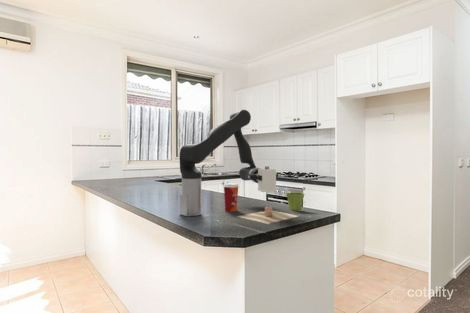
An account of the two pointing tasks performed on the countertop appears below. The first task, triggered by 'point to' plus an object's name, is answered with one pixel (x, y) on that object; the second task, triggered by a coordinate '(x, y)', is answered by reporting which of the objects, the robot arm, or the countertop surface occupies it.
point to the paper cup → (231, 196)
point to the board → (267, 220)
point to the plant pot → (295, 201)
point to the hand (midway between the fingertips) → (268, 178)
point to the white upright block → (267, 180)
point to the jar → (268, 211)
